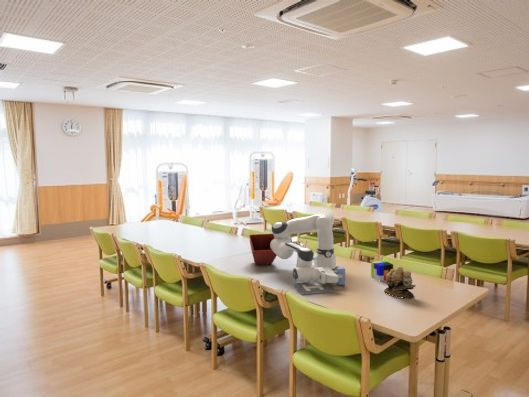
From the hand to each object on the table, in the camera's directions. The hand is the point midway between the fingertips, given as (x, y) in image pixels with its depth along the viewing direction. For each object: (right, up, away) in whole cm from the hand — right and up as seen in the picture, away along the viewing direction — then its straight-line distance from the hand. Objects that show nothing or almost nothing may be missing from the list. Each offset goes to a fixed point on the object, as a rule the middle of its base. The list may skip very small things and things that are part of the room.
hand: (341, 274), depth 243 cm
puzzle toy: (+29, -5, +12) cm, 32 cm away
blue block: (0, -6, 0) cm, 6 cm away
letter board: (-18, -7, -5) cm, 20 cm away
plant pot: (-49, +1, +54) cm, 73 cm away
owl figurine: (+30, -8, -18) cm, 36 cm away
